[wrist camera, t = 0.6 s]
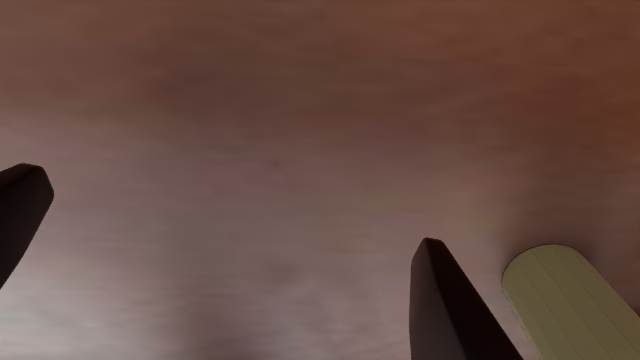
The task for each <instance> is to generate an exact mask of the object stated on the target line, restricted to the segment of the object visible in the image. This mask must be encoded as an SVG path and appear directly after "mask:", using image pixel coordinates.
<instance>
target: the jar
mask: <svg viewBox="0 0 640 360" xmlns="http://www.w3.org/2000/svg"><path fill="white" fill-rule="evenodd" d="M502 287H503V291H504V293H505V295H506V297H507V300H508V302H509V304H510V306H511V307H512V309H513V311H514V313H515V315H516V317H517V319H518V320H519V322H520V324H521V326H522V328H523V330H524V332H525V333H526V335H527V337H528V339H529V341H530V343H531V345H532V346H533V348H534V350H535V352H536V354H537V356H538V358H539V359H540V360H640V317H639V316H638V315H637V314H636V313H635V312H634V311H633V310H632V308H631V307H630V306H629V305H628V304H627V303H626V302H625V301H624V300H623V299H622V298H621V297H620V295H619V294H618V293H617V292H616V291H615V290H614V289H613V288H612V287H611V286H610V285H609V284H608V282H607V281H606V280H605V279H604V278H603V277H602V276H601V275H600V274H599V273H598V272H597V271H596V269H595V268H594V267H593V266H592V265H591V264H590V263H589V262H588V261H587V260H586V259H585V258H584V257H583V256H582V255H581V254H580V253H579V252H577V251H576V250H574V249H572V248H570V247H567V246H563V245H556V244H550V245H542V246H538V247H534V248H531V249H529V250H527V251H525V252H523V253H521V254H520V255H518V256H517V257H516V258H515V259H514V260H513V261H512V262H511V263H510V264H509V265H508V267H507V268H506V270H505V272H504V275H503V279H502Z"/></svg>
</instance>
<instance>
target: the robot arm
mask: <svg viewBox="0 0 640 360" xmlns="http://www.w3.org/2000/svg"><path fill="white" fill-rule="evenodd" d="M53 198H54V190H53V188H52V186H51V183H50V181H49V179H48V176H47V174H46V172H45V170H44V169H43V168H42V167H41V166H37V165H32V164H26V163H22V164H18V165H15V166H13V167H11V168H8V169H6V170H3V171H1V172H0V289H1V288H2V287H3V285H4V284H5V282H6V281H7V279H8V278H9V276H10V275H11V273H12V272H13V270H14V269H15V268H16V266H17V265H18V263H19V261H20V260H21V258H22V257H23V255H24V253H25V252H26V250H27V248H28V246H29V244H30V243H31V241H32V239H33V237H34V235H35V233H36V231H37V230H38V228H39V226H40V224H41V222H42V220H43V218H44V216H45V215H46V213H47V211H48V209H49V207H50V205H51V203H52V201H53ZM409 334H410V347H411V360H523V358H522V357H521V355H520V354H519V352H518V351H517V349H516V348H515V346H514V345H513V344H512V342H511V341H510V339H509V338H508V336H507V335H506V333H505V332H504V330H503V329H502V327H501V326H500V324H499V323H498V322H497V320H496V319H495V317H494V316H493V314H492V313H491V311H490V310H489V308H488V307H487V305H486V304H485V303H484V301H483V300H482V298H481V297H480V295H479V294H478V292H477V291H476V289H475V288H474V286H473V285H472V283H471V282H470V281H469V279H468V278H467V276H466V275H465V273H464V272H463V270H462V269H461V267H460V266H459V264H458V263H457V261H456V260H455V259H454V257H453V256H452V254H451V253H450V251H449V250H448V248H447V247H446V245H445V244H444V243H443V242H442V241H441V240H438V239H433V238H424V239H423V240H422V242H421V243H420V245H419V247H418V249H417V251H416V253H415V255H414V257H413V259H412V264H411V283H410V309H409Z"/></svg>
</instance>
